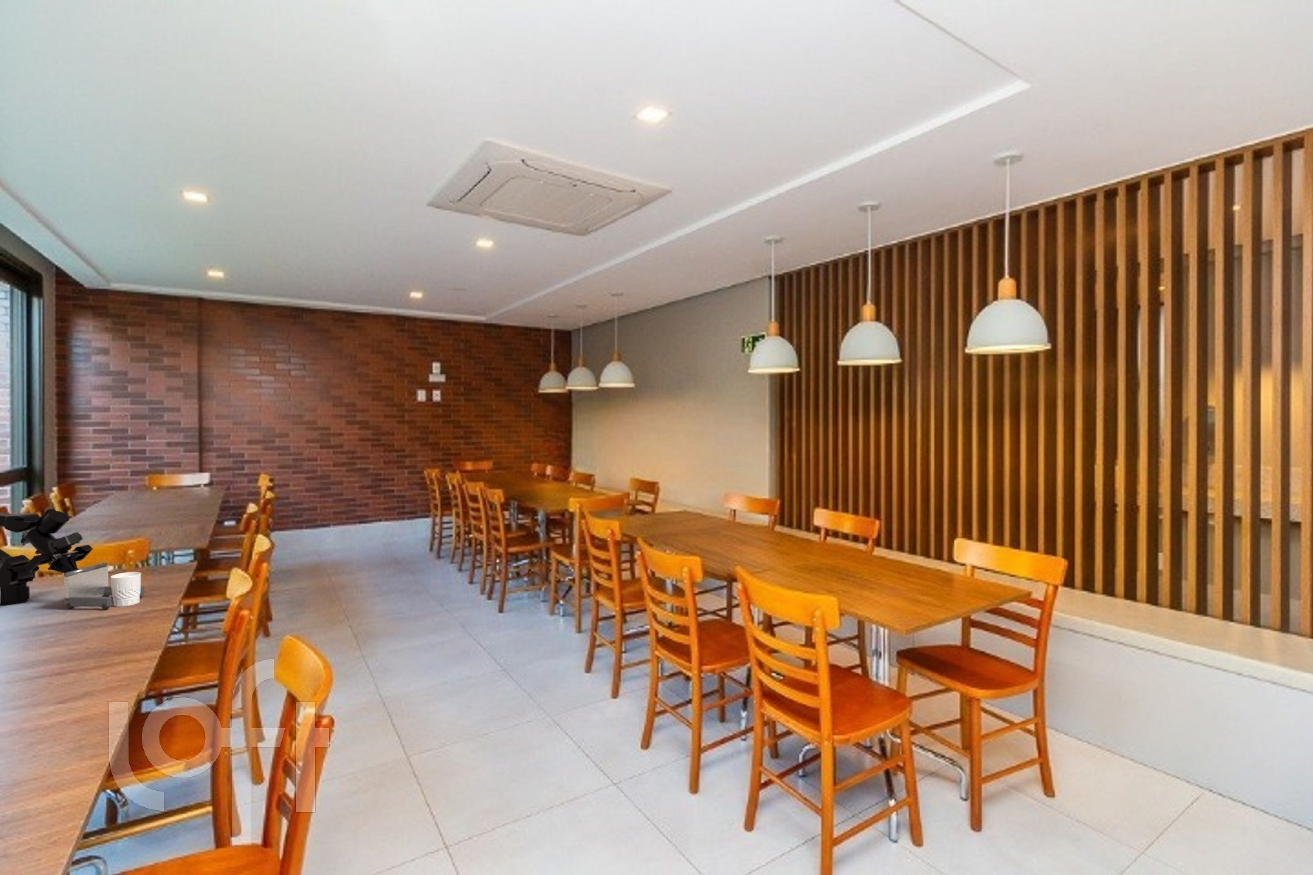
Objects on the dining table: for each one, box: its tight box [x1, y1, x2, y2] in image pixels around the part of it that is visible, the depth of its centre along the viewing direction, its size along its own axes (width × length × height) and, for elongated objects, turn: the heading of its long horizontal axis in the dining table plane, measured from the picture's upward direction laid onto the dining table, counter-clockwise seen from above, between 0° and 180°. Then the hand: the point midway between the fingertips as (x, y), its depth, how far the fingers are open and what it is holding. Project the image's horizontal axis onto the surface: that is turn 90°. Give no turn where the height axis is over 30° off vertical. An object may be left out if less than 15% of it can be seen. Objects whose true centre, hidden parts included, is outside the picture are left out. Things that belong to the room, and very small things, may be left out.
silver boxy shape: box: [63, 562, 145, 610], centre depth 211 cm, size 15×15×12 cm
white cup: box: [110, 571, 142, 608], centre depth 211 cm, size 8×8×10 cm
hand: (77, 575), depth 211 cm, fingers closed
